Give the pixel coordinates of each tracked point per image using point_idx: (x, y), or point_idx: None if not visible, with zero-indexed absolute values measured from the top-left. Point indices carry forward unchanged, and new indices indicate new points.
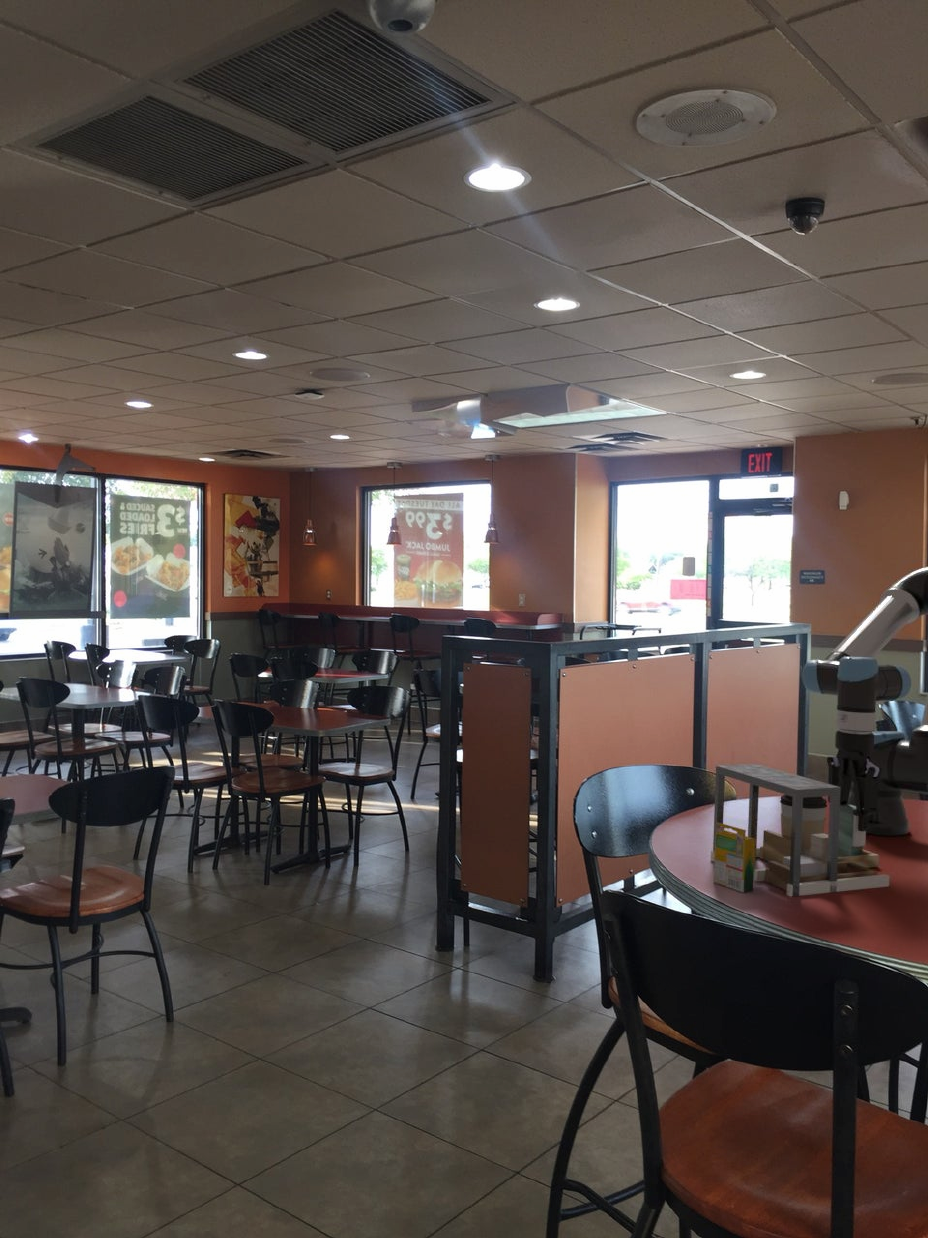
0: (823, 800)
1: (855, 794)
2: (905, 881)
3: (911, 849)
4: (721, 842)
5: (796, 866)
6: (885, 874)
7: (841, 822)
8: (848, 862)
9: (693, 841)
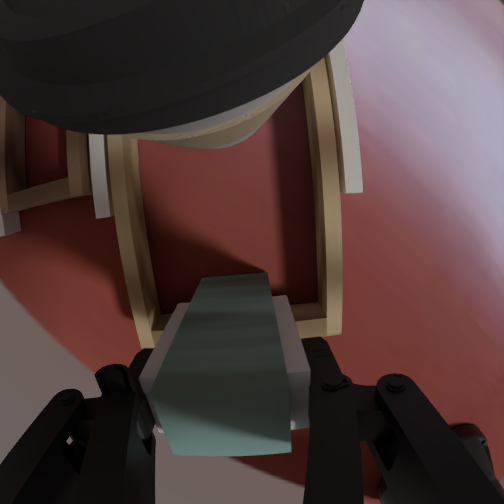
0: (20, 73)
1: (114, 482)
2: (44, 303)
3: (295, 475)
4: None
5: None
6: (3, 235)
7: (254, 334)
8: (69, 183)
9: (464, 3)
